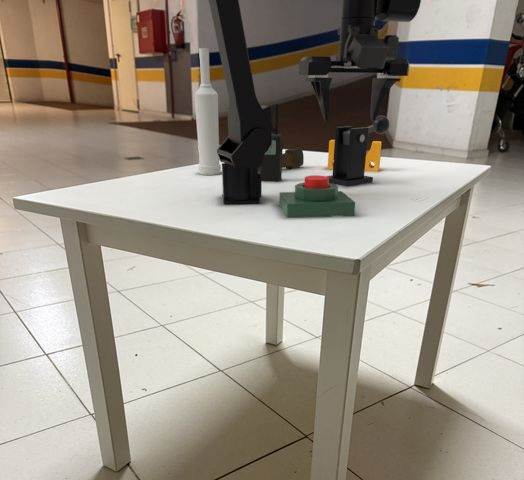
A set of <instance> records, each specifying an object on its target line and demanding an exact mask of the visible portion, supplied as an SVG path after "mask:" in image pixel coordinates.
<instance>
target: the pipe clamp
mask: <svg viewBox="0 0 524 480" xmlns="http://www.w3.org/2000/svg"><path fill="white" fill-rule="evenodd" d="M334 146H335V139H330V140H329V142H328V156H327V170H333V161H334ZM381 151H382V141H381V140H380V141H379V140H373V141H372V142H371V146H370V148H369V150H368V152H366V161H365V171H364V172H366V171H367V172H379V170H380V165H381ZM372 163H373V164H372Z"/></svg>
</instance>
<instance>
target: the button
mask: <svg viewBox="0 0 524 480" xmlns="http://www.w3.org/2000/svg"><path fill="white" fill-rule="evenodd" d="M327 176H328V175H307V176H305V177H304V182H303V183H304V187H306V188H313V189H324V188H329V177H327Z"/></svg>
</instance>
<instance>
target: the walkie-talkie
mask: <svg viewBox="0 0 524 480" xmlns="http://www.w3.org/2000/svg"><path fill="white" fill-rule="evenodd" d="M279 107H280V105H279V103H274V119H273V121H274V125H273V128H274V130H275V133H272V145H271V146H270V148H269V149H268V151H267V152H266V153H265V154H264V157H263V160H262V163H261V166H260V167H259V172H260V173H261V175H262V182H270V183H272V182H273V183H278V182H281V181H282V173H283V172H282V171H283V168H282V154H283V153H284V151H283V150H284V148H283V147H284V145H283V144H284V143H283V135H282V133H279Z"/></svg>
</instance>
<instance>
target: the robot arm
mask: <svg viewBox="0 0 524 480" xmlns="http://www.w3.org/2000/svg"><path fill="white" fill-rule="evenodd" d="M207 1H208V4H209V8H210V14H211V18H212V23H213V27H214V32H215V37H216V42H217V47H218V52H219V57H220V61H221V67H222V71H223V76H224V81H225V86H226V91H227V95H228V102H229V103H228V112H227V131H228V132H227V133H228V136H227V137H226V138H225V140H224V141H223V142H222V143H221V145H219V148H218V149H217V154H218V157H219V163H221V179H222V180H221V181H222V183H221V185H222V193H221V199H222V204H224V205H230V204H231V205H233V204H236V205H237V204H260V203H261V198H262V194H263V193H262V192H263V191H262V185H263V184H262V182H263V181H262V175H261V173H260V172H258V167H260V166H261V163H262V160H263V157H264V154H265V153H266V152H267V151H268V149H269V148H270V146H271V145H272V134H274V133H275V130H274V125H273V122H272V109H271V106H270V105H262V104H261V103H260V101H259V99H258V97H257V94H256V89H255V83H254V78H253V73H252V66H251V62H250V61H251V60H250V57H249V56H250V55H249V50H248V46H247V39H246V34H245V29H244V24H243V23H244V22H243V18H242V11H241V5H240V1H239V0H207ZM421 2H422V0H342V1H341V16H340V26H339V27H337V35H339V43H338V54H336V55H335V60H332V59H331V56H320V55H319V56H316V55H315V56H314V55H312V56H311V55H310V56H303V57H301V59H300V61H299V64H298V76H308V77H305V81H306V82H310V85H311V86H312V89H313V91H314V93H315V97H316V99H317V102H318V105H319V108H320V112H321V115H322V118H323V121H324V122H326V123H327V122H329V116H330V88H331V84H332V80H333V78H332V77H329V73H335V74H336V73H342V74H343V73H344V74H348V73H349V74H350V73H351V74H352V73H353V74H355V73H356V74H375V75H376V77H375V78H374V77H373V78H372V83H371V95H370V96H371V97H370V111H369V113H370V114H369V115H370V121H371V122H373V121H375V119H376V117H378V116H379V112H380V110H381V107H382V105H383V103H384V101H385V98H386V96H387V94H388V93H389V91H390V89H391V88H392V87H393V86H394V85H395V84H396V83H400V82H401V80H402V78H398V77H409V73H410V67H411V66H410V62H409V61H408V58H407V57H397V56H398V52H399V42H400V37H398V35H396V34H386V35H384V37H383V38H379V29H378V27H379V25H376V19H377V21H381V22H397V23H409V22H412V21H413V20H414V19H415V18H416V17H417V14H418V13H419V10H420V7H421ZM348 63H350V65H345V64H348Z"/></svg>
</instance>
